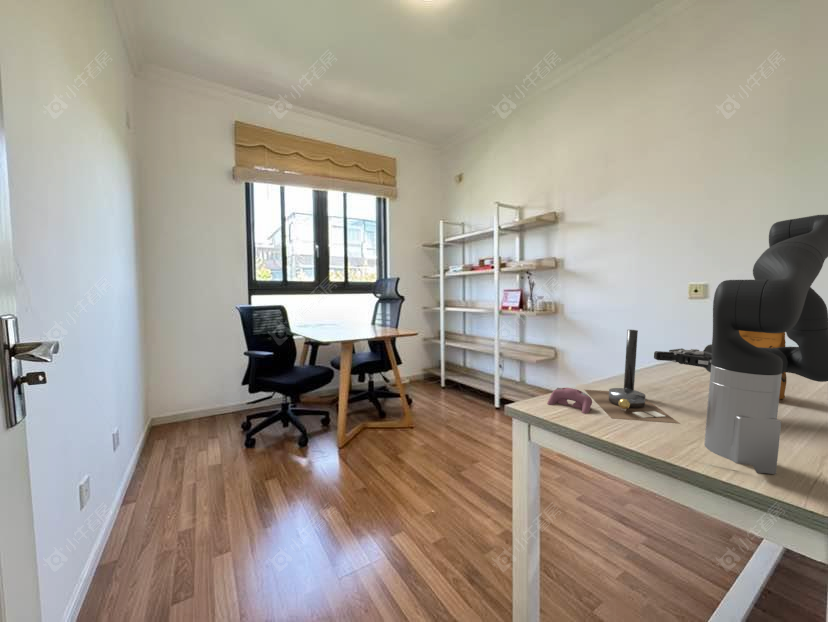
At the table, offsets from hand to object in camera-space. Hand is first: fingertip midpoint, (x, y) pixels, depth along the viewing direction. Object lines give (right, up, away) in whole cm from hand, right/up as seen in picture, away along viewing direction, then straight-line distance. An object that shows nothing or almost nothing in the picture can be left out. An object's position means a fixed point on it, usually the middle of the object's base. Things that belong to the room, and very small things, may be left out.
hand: (655, 355), depth 93 cm
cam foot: (-10, -12, -4) cm, 16 cm away
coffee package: (+35, -13, +9) cm, 39 cm away
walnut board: (-11, -13, -5) cm, 18 cm away
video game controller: (-26, -14, -6) cm, 30 cm away
